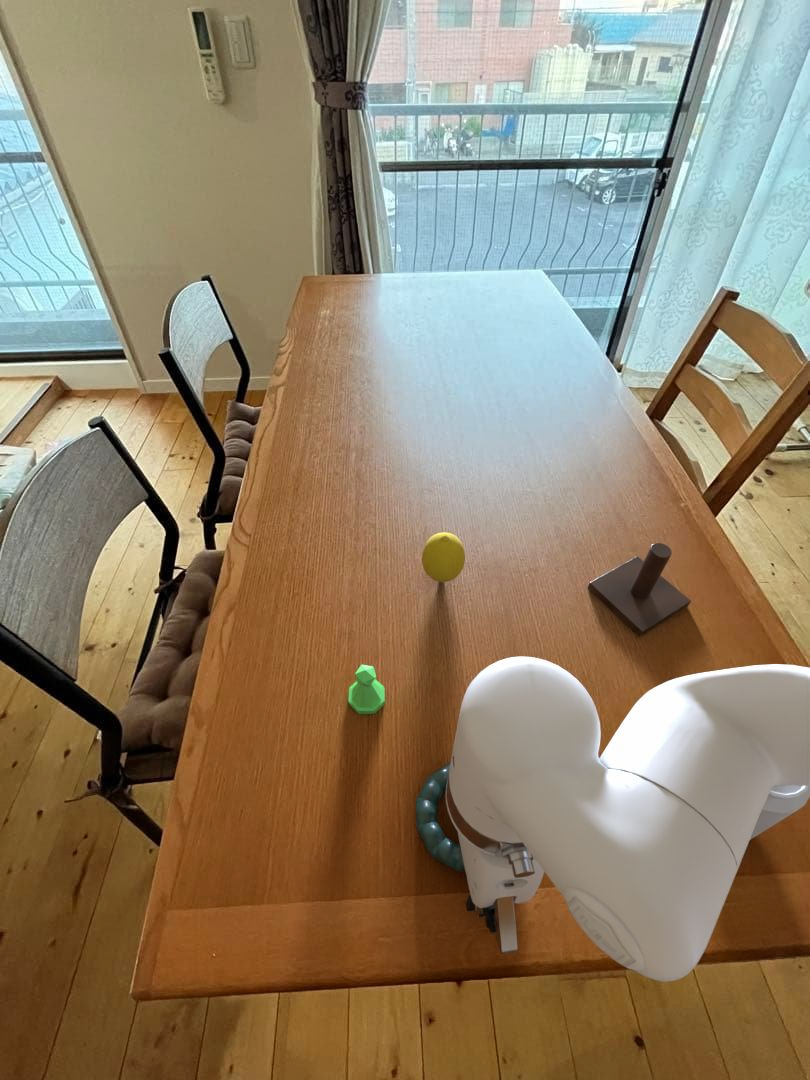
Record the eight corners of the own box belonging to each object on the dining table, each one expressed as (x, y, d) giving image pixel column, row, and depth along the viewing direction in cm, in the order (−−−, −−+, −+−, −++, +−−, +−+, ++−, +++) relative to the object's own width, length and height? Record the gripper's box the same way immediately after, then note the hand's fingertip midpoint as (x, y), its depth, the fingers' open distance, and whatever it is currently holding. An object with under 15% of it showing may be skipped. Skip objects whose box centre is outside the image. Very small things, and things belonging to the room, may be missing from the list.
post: (687, 606, 71) (718, 559, 65) (639, 637, 68) (666, 591, 61) (634, 561, 77) (657, 513, 70) (587, 588, 73) (606, 540, 67)
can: (756, 861, 51) (830, 820, 43) (672, 832, 53) (726, 787, 44) (750, 782, 56) (815, 731, 48) (672, 758, 58) (722, 705, 49)
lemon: (433, 556, 77) (436, 515, 71) (469, 572, 75) (475, 531, 69) (413, 582, 74) (414, 541, 68) (450, 600, 72) (454, 559, 66)
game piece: (357, 675, 64) (354, 647, 60) (391, 687, 63) (391, 660, 59) (341, 707, 61) (337, 680, 57) (376, 721, 60) (375, 694, 56)
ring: (535, 835, 53) (539, 828, 51) (453, 896, 49) (455, 892, 48) (475, 750, 58) (477, 742, 57) (397, 800, 55) (397, 793, 53)
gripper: (602, 934, 32) (542, 970, 45) (520, 671, 44) (491, 760, 57) (476, 956, 32) (453, 986, 45) (427, 683, 43) (420, 770, 56)
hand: (475, 859), depth 51 cm, fingers open, 6 cm apart
